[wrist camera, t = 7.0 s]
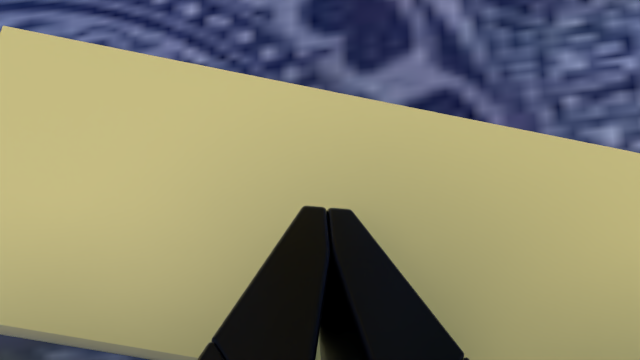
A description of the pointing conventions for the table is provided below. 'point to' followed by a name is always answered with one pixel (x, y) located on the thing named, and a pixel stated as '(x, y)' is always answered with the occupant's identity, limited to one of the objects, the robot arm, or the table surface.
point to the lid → (292, 207)
